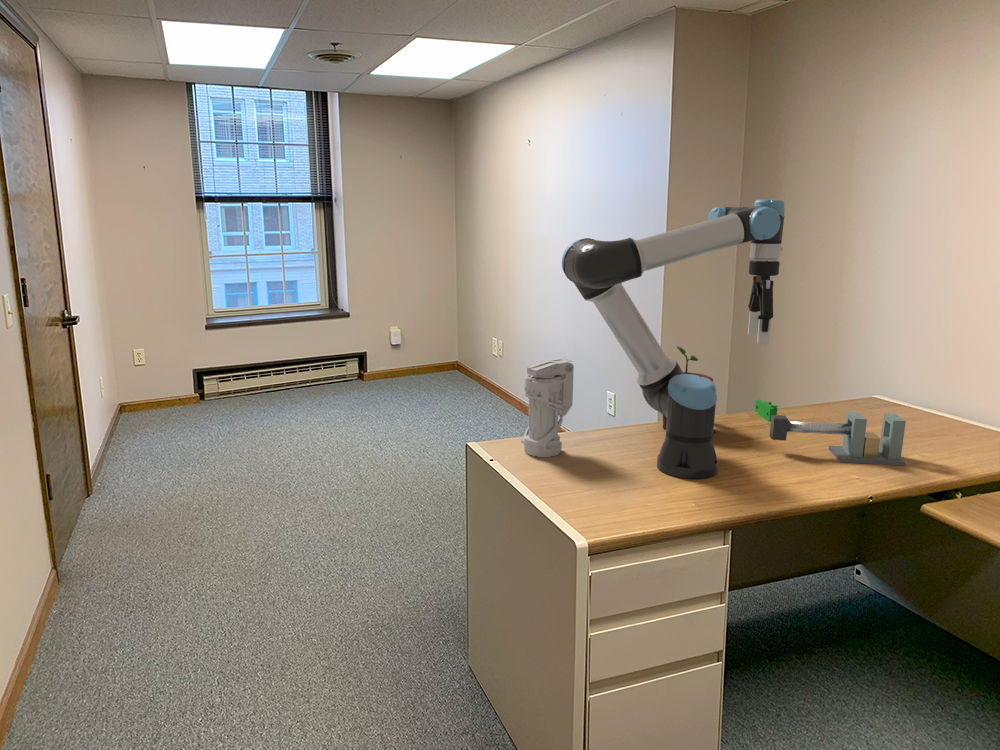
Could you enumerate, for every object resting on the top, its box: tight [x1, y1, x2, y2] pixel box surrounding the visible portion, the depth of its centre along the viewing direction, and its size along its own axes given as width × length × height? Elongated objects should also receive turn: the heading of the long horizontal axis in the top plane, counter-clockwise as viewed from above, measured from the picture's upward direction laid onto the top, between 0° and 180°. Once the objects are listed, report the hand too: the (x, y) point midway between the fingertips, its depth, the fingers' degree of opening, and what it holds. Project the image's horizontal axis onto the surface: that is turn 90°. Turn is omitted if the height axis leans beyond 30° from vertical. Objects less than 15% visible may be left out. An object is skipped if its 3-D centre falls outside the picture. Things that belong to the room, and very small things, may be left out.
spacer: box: [863, 431, 881, 457], centre depth 195 cm, size 4×6×5 cm, turn 171°
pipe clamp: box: [754, 399, 779, 423], centre depth 233 cm, size 11×4×5 cm, turn 4°
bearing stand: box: [828, 411, 907, 466], centre depth 194 cm, size 16×11×12 cm
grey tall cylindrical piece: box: [520, 357, 575, 458], centre depth 195 cm, size 13×10×25 cm
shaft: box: [769, 414, 852, 441], centre depth 196 cm, size 22×4×6 cm, turn 81°
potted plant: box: [662, 345, 716, 435], centre depth 219 cm, size 18×22×25 cm
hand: (757, 339), depth 195 cm, fingers open, 13 cm apart
